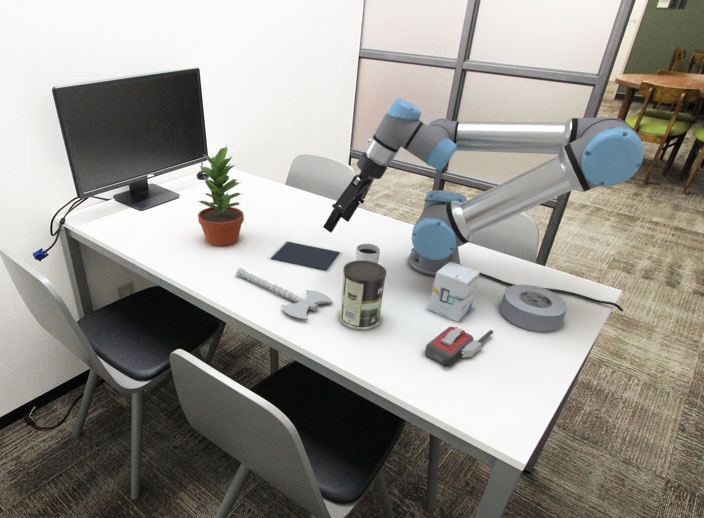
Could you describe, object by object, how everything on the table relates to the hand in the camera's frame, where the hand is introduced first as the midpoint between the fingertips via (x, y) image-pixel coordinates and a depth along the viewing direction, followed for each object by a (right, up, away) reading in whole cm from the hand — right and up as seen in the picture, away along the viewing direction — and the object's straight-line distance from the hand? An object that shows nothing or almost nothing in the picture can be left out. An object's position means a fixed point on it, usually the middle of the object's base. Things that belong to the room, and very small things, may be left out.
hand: (336, 224), depth 140 cm
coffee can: (+5, -26, -14) cm, 30 cm away
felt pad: (-8, -8, +15) cm, 19 cm away
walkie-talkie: (+28, -33, -22) cm, 48 cm away
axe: (-16, -20, -5) cm, 26 cm away
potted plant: (-36, -2, +23) cm, 43 cm away
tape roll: (+50, -26, -9) cm, 57 cm away
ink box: (+30, -24, -8) cm, 39 cm away
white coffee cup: (+9, -16, +4) cm, 18 cm away
